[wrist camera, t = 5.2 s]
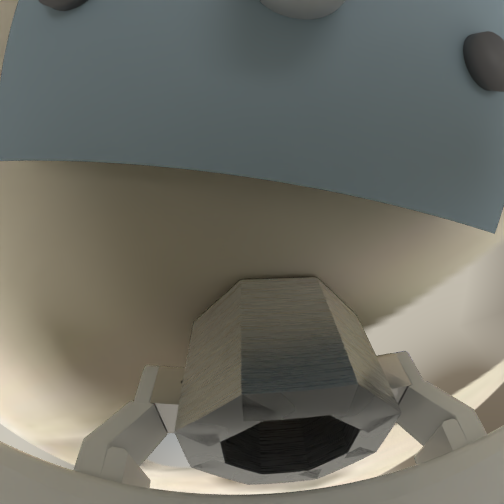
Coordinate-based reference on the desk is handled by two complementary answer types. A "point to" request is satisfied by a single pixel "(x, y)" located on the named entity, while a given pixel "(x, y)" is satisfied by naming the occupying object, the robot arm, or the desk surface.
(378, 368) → the hub
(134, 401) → the robot arm
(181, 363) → the desk surface
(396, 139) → the pillow block
